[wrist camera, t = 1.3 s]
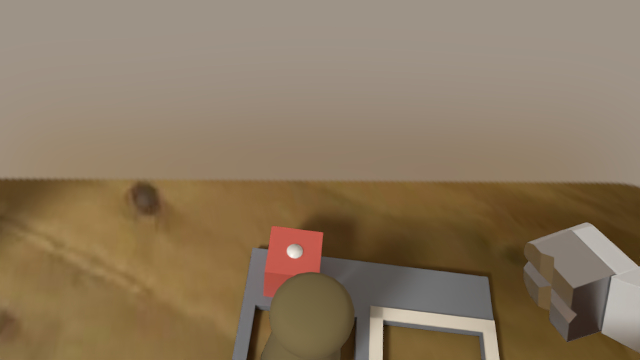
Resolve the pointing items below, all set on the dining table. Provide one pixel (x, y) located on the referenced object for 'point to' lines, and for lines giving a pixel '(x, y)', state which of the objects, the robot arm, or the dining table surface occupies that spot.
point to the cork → (309, 319)
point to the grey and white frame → (388, 303)
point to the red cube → (290, 256)
